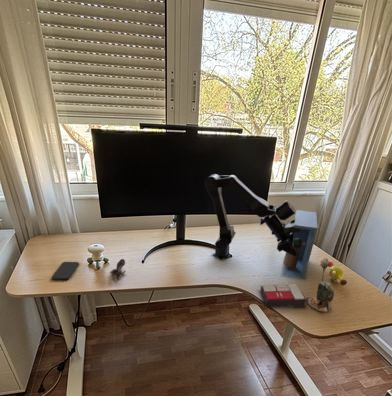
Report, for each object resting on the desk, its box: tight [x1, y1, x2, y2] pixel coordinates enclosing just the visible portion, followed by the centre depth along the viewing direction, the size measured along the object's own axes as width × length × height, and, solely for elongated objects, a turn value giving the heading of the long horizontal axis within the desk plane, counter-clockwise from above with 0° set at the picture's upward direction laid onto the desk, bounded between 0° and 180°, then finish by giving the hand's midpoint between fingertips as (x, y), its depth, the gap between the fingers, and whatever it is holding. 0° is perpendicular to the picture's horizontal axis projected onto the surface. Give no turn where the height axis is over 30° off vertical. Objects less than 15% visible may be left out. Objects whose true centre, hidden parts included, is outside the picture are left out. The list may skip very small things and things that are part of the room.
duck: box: [283, 238, 305, 268], centre depth 134 cm, size 7×6×14 cm
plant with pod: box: [306, 257, 335, 313], centre depth 107 cm, size 8×11×20 cm
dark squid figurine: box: [109, 258, 126, 281], centre depth 127 cm, size 8×7×9 cm
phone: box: [51, 261, 80, 281], centre depth 129 cm, size 7×1×15 cm
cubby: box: [283, 209, 319, 280], centre depth 133 cm, size 9×21×24 cm, turn 162°
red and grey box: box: [259, 283, 307, 308], centre depth 115 cm, size 11×4×15 cm
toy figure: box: [327, 261, 348, 286], centre depth 128 cm, size 18×6×7 cm, turn 178°
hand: (295, 252), depth 134 cm, fingers closed on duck, 6 cm apart
